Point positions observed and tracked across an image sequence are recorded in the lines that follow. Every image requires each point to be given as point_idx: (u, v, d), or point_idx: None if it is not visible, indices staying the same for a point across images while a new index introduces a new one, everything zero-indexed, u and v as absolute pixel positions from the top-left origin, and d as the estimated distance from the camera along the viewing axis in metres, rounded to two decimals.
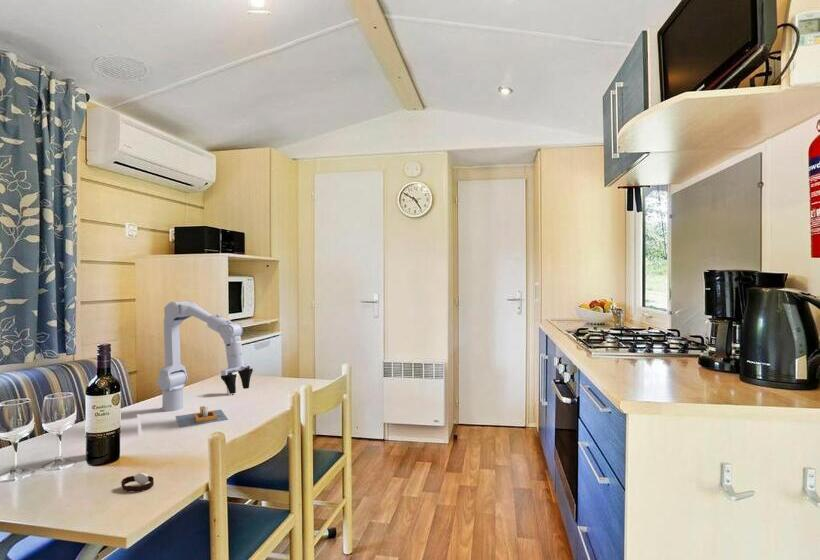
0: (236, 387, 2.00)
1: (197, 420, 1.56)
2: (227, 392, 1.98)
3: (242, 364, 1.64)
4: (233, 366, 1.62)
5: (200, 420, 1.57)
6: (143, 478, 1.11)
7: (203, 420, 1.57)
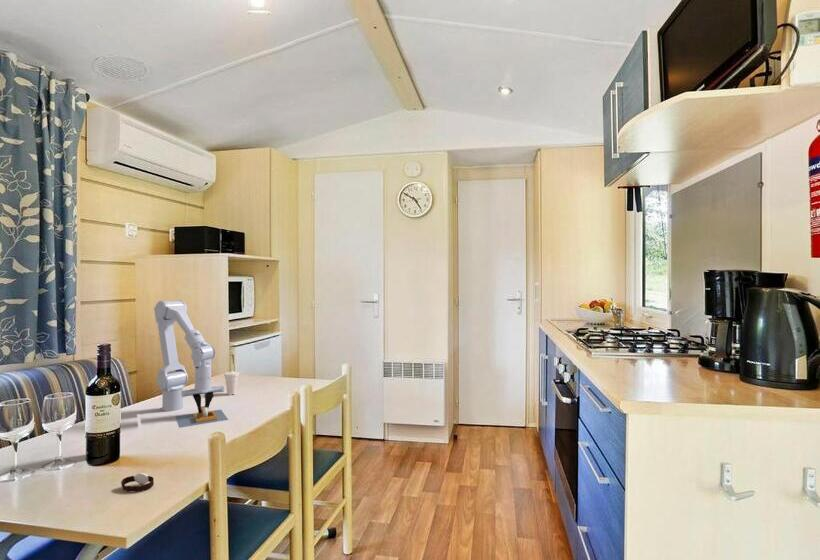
0: (236, 387, 2.00)
1: (197, 420, 1.56)
2: (227, 392, 1.98)
3: (204, 389, 1.64)
4: (195, 389, 1.64)
5: (200, 420, 1.57)
6: (143, 478, 1.11)
7: (203, 420, 1.57)
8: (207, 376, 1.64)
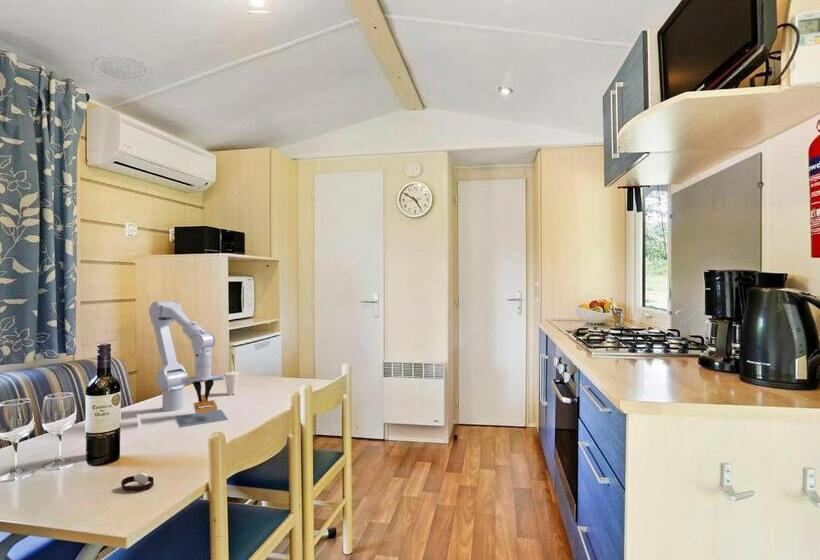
0: (236, 387, 2.00)
1: (197, 410, 1.57)
2: (227, 392, 1.98)
3: (204, 376, 1.64)
4: (195, 376, 1.64)
5: (200, 410, 1.57)
6: (143, 478, 1.11)
7: (203, 410, 1.58)
8: (207, 364, 1.64)
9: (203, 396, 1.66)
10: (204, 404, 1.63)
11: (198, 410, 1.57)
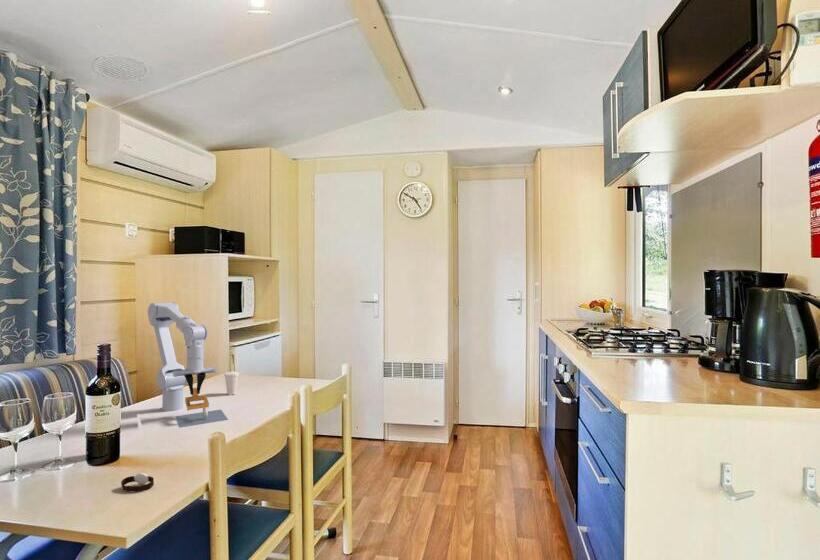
0: (236, 387, 2.00)
1: (188, 407, 1.56)
2: (227, 392, 1.98)
3: (196, 369, 1.62)
4: (187, 369, 1.62)
5: (191, 407, 1.56)
6: (143, 478, 1.11)
7: (194, 407, 1.57)
8: (198, 356, 1.63)
9: (195, 390, 1.65)
10: (196, 399, 1.62)
11: (190, 407, 1.56)
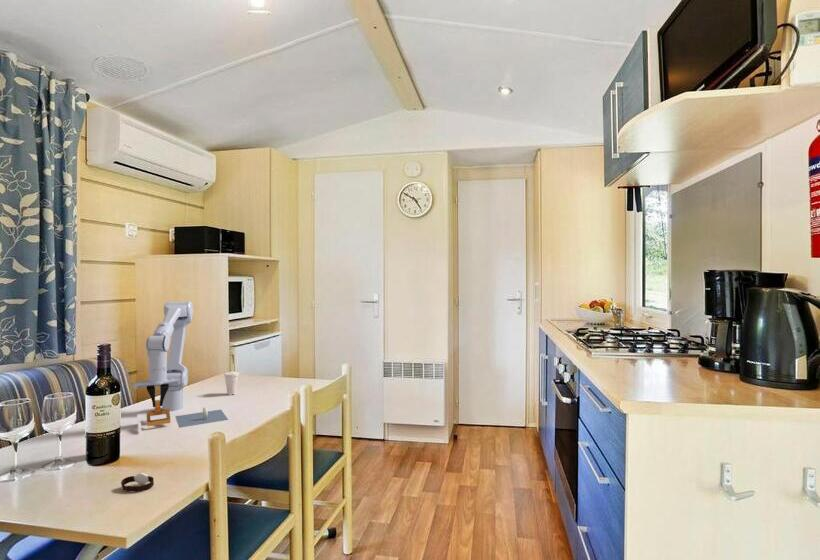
0: (236, 387, 2.00)
1: (148, 423, 1.49)
2: (227, 392, 1.98)
3: (158, 380, 1.55)
4: (149, 380, 1.56)
5: (152, 423, 1.50)
6: (143, 478, 1.11)
7: (155, 423, 1.50)
8: (153, 368, 1.55)
9: (158, 403, 1.58)
10: (158, 413, 1.56)
11: (149, 423, 1.49)
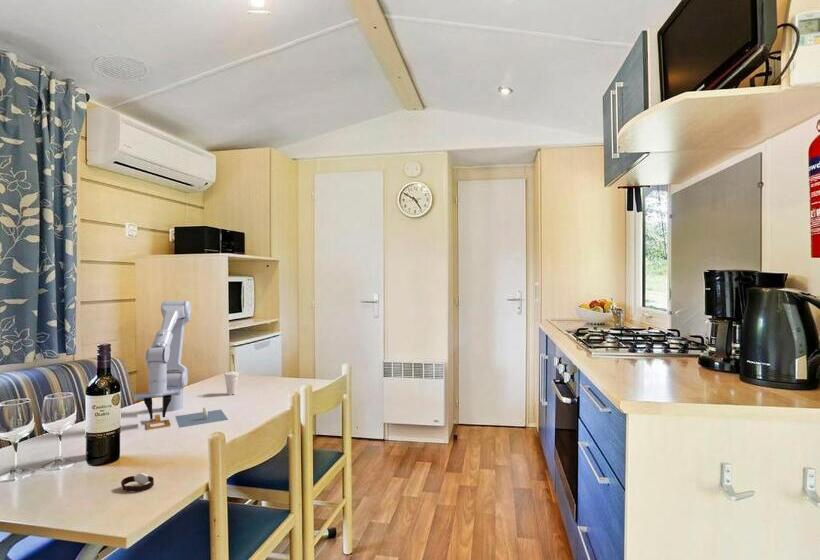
0: (236, 387, 2.00)
1: None
2: (227, 392, 1.98)
3: (158, 392, 1.55)
4: (149, 392, 1.56)
5: None
6: (143, 478, 1.11)
7: None
8: (153, 379, 1.55)
9: (158, 416, 1.59)
10: None
11: (149, 429, 1.49)
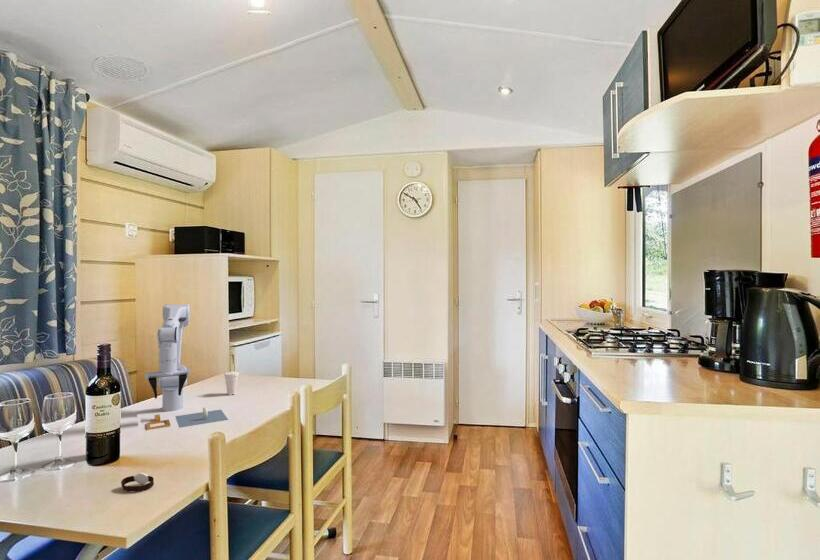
0: (236, 387, 2.00)
1: None
2: (227, 392, 1.98)
3: (168, 371, 1.59)
4: (159, 371, 1.59)
5: None
6: (143, 478, 1.11)
7: None
8: (165, 359, 1.58)
9: (158, 416, 1.59)
10: None
11: (149, 429, 1.49)
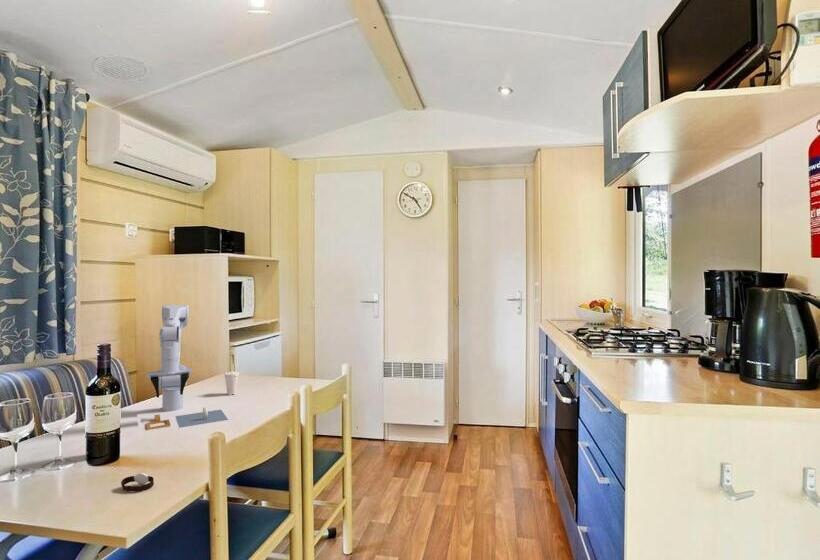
0: (236, 387, 2.00)
1: None
2: (227, 392, 1.98)
3: (170, 370, 1.59)
4: (161, 370, 1.59)
5: None
6: (143, 478, 1.11)
7: None
8: (168, 358, 1.59)
9: (158, 416, 1.59)
10: None
11: (149, 429, 1.49)
